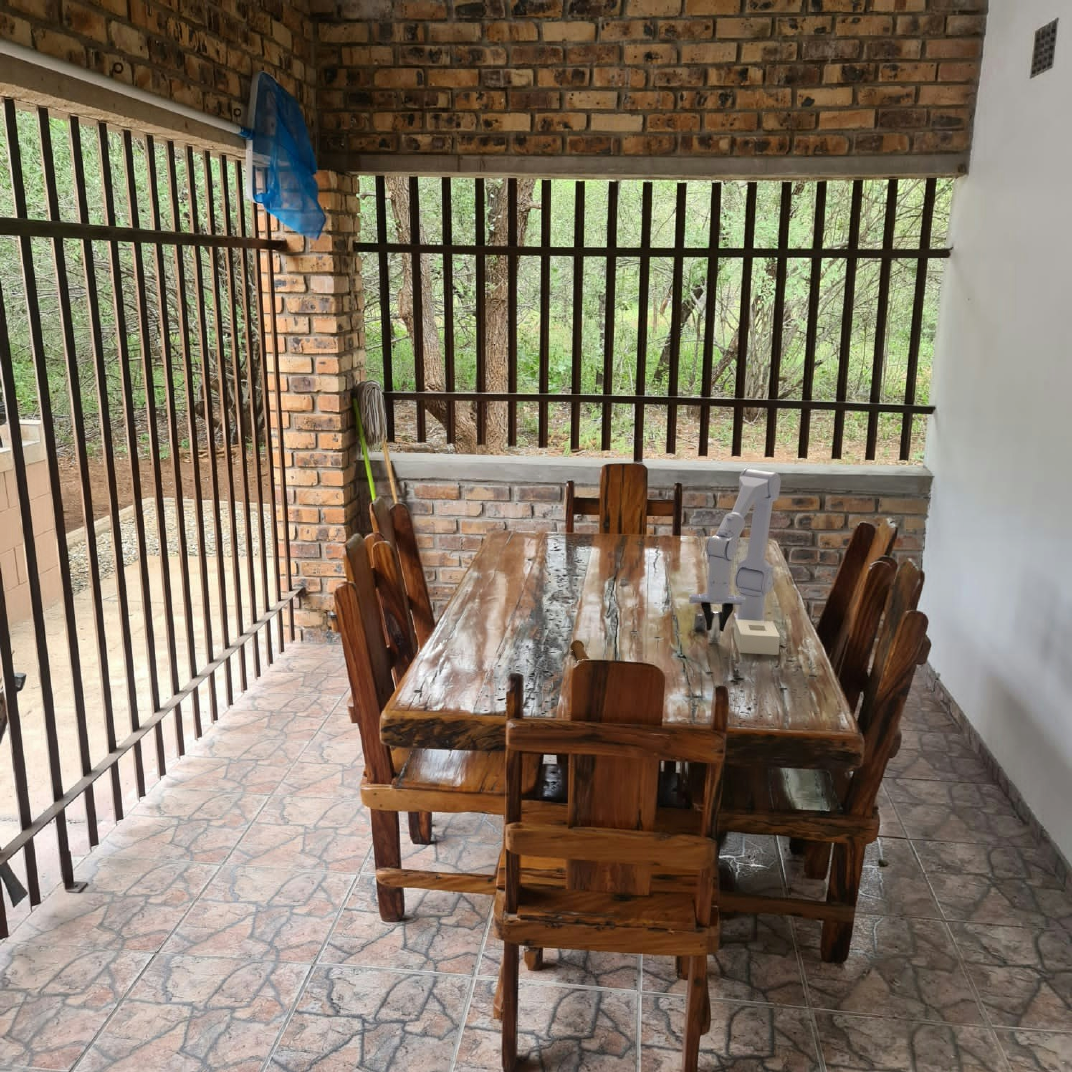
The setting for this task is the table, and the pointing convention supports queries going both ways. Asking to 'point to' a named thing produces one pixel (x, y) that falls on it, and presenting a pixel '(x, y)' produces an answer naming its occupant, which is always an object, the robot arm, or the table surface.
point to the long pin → (715, 626)
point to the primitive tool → (579, 650)
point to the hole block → (756, 637)
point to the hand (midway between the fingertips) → (714, 629)
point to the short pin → (699, 622)
